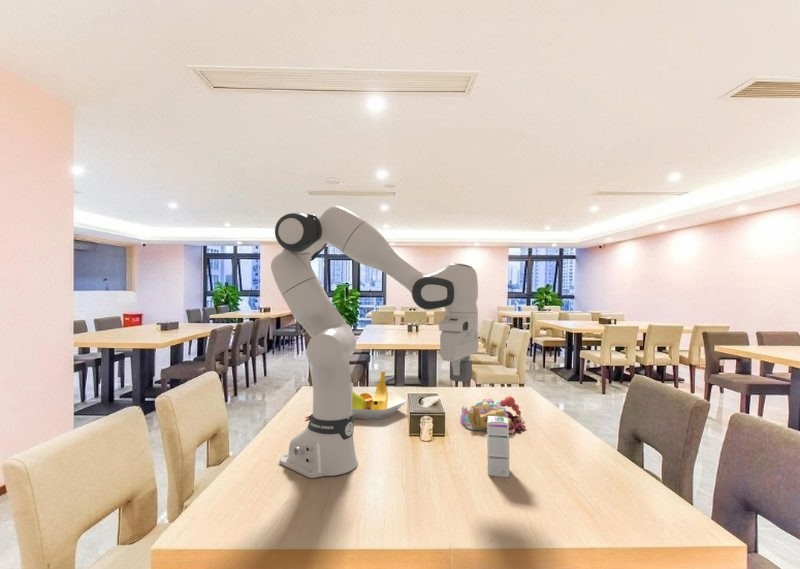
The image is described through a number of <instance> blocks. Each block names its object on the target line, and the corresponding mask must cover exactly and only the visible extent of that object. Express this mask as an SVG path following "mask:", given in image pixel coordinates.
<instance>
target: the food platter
mask: <svg viewBox="0 0 800 569" xmlns="http://www.w3.org/2000/svg"><path fill="white" fill-rule="evenodd" d="M506 407H507V408H511V410H512V411H514V412H515V415H514V414H513V413H512V412H510V411H507V410H506ZM521 414H522V412H521V410H520V406H519V405H518V404H517V403H516V399H515V398H514V397H513V396H505V398H504V399H501V400H500V401H498V400H496V401H494V400H493V399H492V398H490V397H487V398H482V399H481V401H480V400H478V401H476V403H475V405H471V406H470V408H469V409H468V407H467V406H466V407H465V406H464V405H463V406H462V407H461V414H460V417H459V418H460V419H459V420H460V421H459V423H460V424H461V426H463V425H464V427H466V428H467V429H469V430H471V431H472V430H473V431H475V430H477V431H486V432H487V419H488V416H503V417H507V418H508V423H509V434H514V433H515V432H518V433H521V430H523V431H525V430H526V426H525V422H524V419H523V418H522V415H521Z"/></svg>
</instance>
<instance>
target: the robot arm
mask: <svg viewBox="0 0 800 569" xmlns="http://www.w3.org/2000/svg"><path fill="white" fill-rule="evenodd" d="M274 236H275V239H276V241H277V243H278V244H279V245H280V247H282V248H283V250H282V251H281V252H279V253H278V254H277V255H276V256H274V258H272V260H271V261H270V262H271V263H270V270H271V273H272V276H273V279H274V282H275V283H276V286H277V289H278V290H279V293H280V294H281V296H282V298H283V300H284V301H285V303H286V305H287V307H288V309H289V310H290V312H291V315H292V316H293V317H294V320H295V321H296V322H297V323H298V324H300V326H301V327H303V329H304V330H305V331H306V333H307V334H308V335H309V336H310V339H309V342H308V344H307V345H306V351H305V352H306V358H307V360H308V362H309V370H310V377H311V382H312V383H311V384H312V414H310V415H308V416H306V417H305V420H304V422H308V425H307V427H305V428H304V429H303V430H301V431H300V432H299V433H298V434H297V435H296V436H294V437H293V438H292V439H291V440H290V442H289V447H288V452H286V453H285V454H284V455H282V457H281V458H280V460H279V464H280V465H283V466H284V467H286V468H288V469H291V470H293V471H295V472H297V473H298V474H301V475H303V476H305V477H307V478H310V479H315V478H320V477H328V476H329V477H330V476H339V475H343V474H346V473H349V472H351V471H353V470H354V469H355V468H357V467H358V464H359V462H358V459H357V455H356V450H355V444H354V443H355V442H354V427H355V418H354V414H353V413H352V391H353V388H354V387H353V383H352V377H351V367H350V359H351V358H350V357H351V356H352V355H353V354H354V353H355V351H356V348H357V338H356V335H355V333H354V332H353V331H352V330H351V328H350V326H349V324H348V323H347V322H346V321H345V319H344V318H343V316H342V315H341V313H340V312H339V311H338V309H337V308H336V307H335V305H334V304H333V302H332V301H331V299H330V297H329V296H328V293H327V292H326V290H325V289H324V287H323V285H322V283H321V282H320V279H319V278H318V276H317V275H316V272H315V271H314V270H313V267H312V265H311V261H314V260H315V259H316V258H317V257H318V255H320V253H321V252H322V251H323V250H324V249H325V248H326V247H327V245H331V246H332V247H335V248H336V249H337V250H338V251H340V252H341V253H343V254H344V255H345V256H347V257H348V258H350V259H351V260H353V261H355V262H357V263H359V264H360V265H363V266H364V267H365V266H366V267H369V268H373V269H374V270H377V271H380V272H383V273H385V274H386V275H388V276H389V277H390V278H392V279H394V281H397V283H398V284H400V285H402V286H403V287H404V288H406V289H407V290H408V291H409V292H410V293H411V297H412V300H413V302H414V303H415V305H417V306H418V307H419V308H421V309H422V310H425V311H434V310H437V309H442V308H444V309H445V310H444V311H445V312H444V313H445V316H444V317H443V318H442V320H441V321H440V322H439V323H438V331H440V332H441V333H440V335H439V336H440V337H439V342H440V343H439V345H440V348H439V349H440V350H439V351H440V356H441V360H442V361H444V362H450V365H451V364H452V367H453V375H457V376H458V375H460V374H461V368H460V360H466V361H471V355H474V354H476V353H478V352H479V351H478V350H479V331H478V329H479V316H478V315H479V310H478V307H477V306H478V305H477V301H478V298H479V284H478V283H479V282H478V276H477V271H476V270H475V268H473V267H472V266H471V265H468V264H464V263H460V262H459V263H457V262H451V263H448V265H446V266H445V267H443V268H442V269H439V270H437V271H435V272H433V273H430V274H425V273H422V272H421V271H419V270H418V269H417V268H415V267H413V266H412V265H411V264H410V263H408V262H407V261H406V260H404V259H403V258H401V257H400V256H399V254H397V253H396V252H395V250H394V249H393V248H392V246H391V245H390V243H389V242H388V241H387V239H386V238H385V237H384V235H382V233H380V231H378V230H377V229H376V228H375V227H374V226H373V225H372V224H371V223H369V222H368V221H367V220H366V219H364V218H363V217H361V216H359V215H357V213H354V212H353V211H351V210H348V209H346V208H344V207H342V206H340V205H333V206H330V207H329V208H327V209H326V210H325V211H324V212H323V213H322V214H321V216H319V217H318V216H317V215H315V214H311V213H304V212H303V213H302V212H290V213H287V214H284V215H283V216H281V217H280V218H279V219H278V220H277V221H276V225H275V227H274Z"/></svg>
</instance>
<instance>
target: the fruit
mask: <svg viewBox="0 0 800 569" xmlns="http://www.w3.org/2000/svg"><path fill="white" fill-rule="evenodd" d="M375 388H376V389H375V391H360V390H359V391H358V390H357V391H356V392H354V391H353V390H352V413H353V414H354V419H355V418H366V419H365V420H382V419H384V418H386V417H388V415H389V416H391V415H393V414H395V413H396V412H397V411H398V410H399V409H401V407H402V406H403V405H405V404H406V403H407V400H406V399H404V398H403V397H401V396H399V395H397V394H396V393H395V392H392V391H390V392H389V391H388V387H387V385H386V372H385V371H380V379H379V382H378V384H377V386H376V387H375ZM387 405H388V406H389V407H390V408H387ZM368 408H369V409H368ZM394 412H395V413H394ZM392 413H393V414H392ZM390 414H391V415H390ZM385 416H386V417H385ZM383 417H384V418H383Z"/></svg>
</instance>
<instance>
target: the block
mask: <svg viewBox="0 0 800 569" xmlns="http://www.w3.org/2000/svg"><path fill="white" fill-rule="evenodd" d="M460 368H461V374H460V375H458V376H457V375H453V367H452V364H451V363H450V381H453V382H459V383H460V382H461V383H467V382H470V381H471V380H472V379H473V361H472V360H470V361H466V360H462V359H460Z"/></svg>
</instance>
